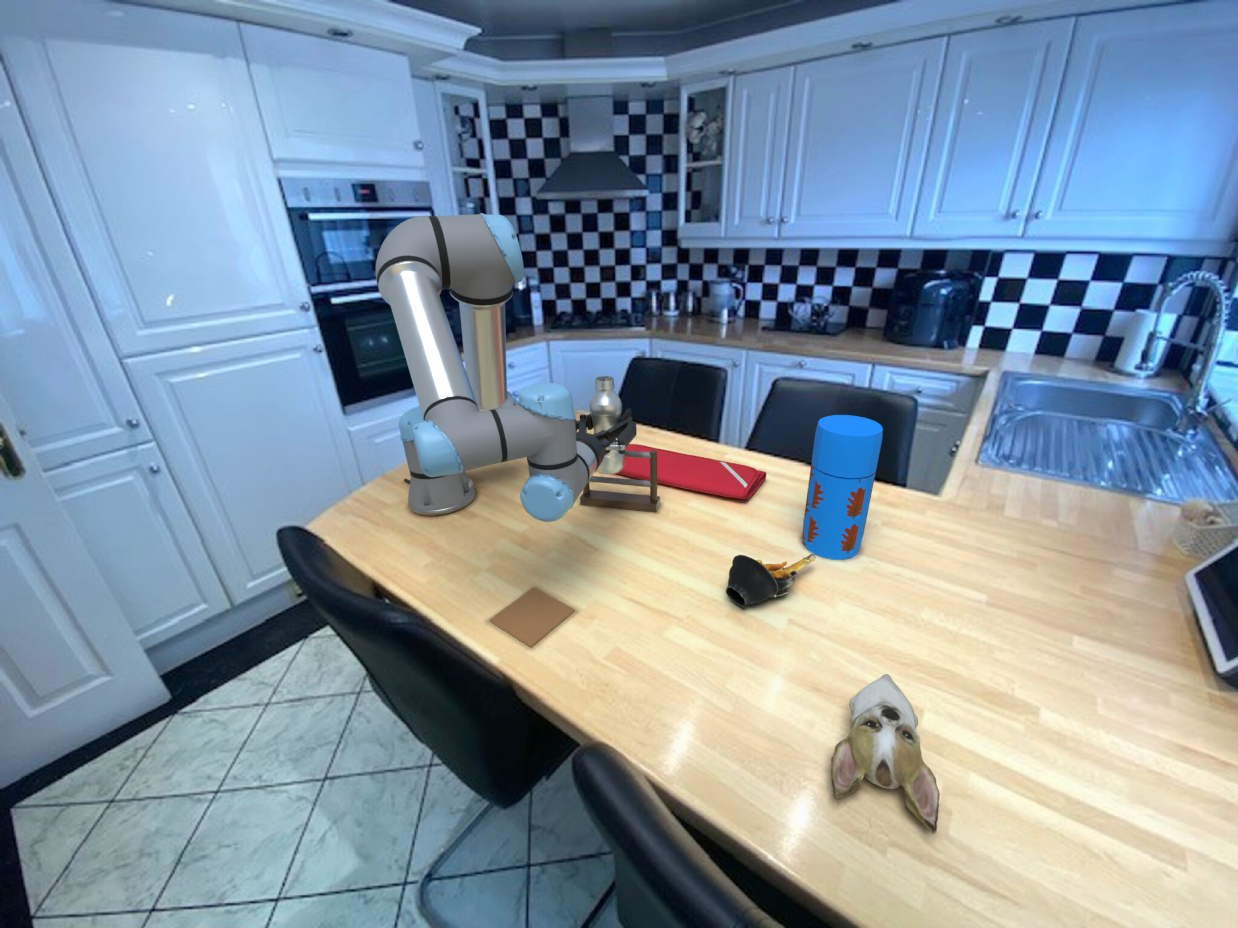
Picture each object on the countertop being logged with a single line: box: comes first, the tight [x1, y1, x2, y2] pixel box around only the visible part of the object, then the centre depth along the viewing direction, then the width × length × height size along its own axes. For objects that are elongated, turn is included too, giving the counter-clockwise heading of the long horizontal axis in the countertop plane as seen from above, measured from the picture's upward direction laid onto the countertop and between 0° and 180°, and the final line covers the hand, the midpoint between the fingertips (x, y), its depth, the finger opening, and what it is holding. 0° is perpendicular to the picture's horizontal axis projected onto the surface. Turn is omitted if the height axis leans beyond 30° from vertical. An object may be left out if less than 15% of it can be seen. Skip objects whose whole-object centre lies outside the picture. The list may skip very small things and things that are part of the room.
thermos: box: [801, 414, 884, 561], centre depth 94 cm, size 11×11×25 cm
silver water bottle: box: [588, 375, 625, 475], centre depth 102 cm, size 6×7×20 cm
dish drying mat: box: [616, 443, 767, 500], centre depth 128 cm, size 16×41×4 cm, turn 58°
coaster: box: [489, 587, 576, 648], centre depth 84 cm, size 10×10×1 cm
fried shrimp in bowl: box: [725, 553, 817, 608], centre depth 87 cm, size 9×11×18 cm
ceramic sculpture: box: [830, 673, 941, 835], centre depth 58 cm, size 11×9×15 cm
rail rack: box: [579, 450, 661, 513], centre depth 114 cm, size 18×4×14 cm, turn 75°
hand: (613, 413), depth 106 cm, fingers closed on silver water bottle, 6 cm apart
